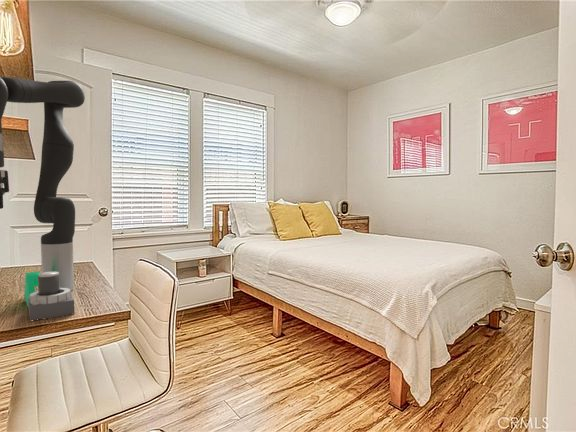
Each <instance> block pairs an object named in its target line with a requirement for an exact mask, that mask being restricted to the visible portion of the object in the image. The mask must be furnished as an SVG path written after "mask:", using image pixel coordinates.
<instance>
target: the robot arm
mask: <svg viewBox="0 0 576 432" xmlns="http://www.w3.org/2000/svg"><path fill="white" fill-rule="evenodd" d="M85 97H86V96H85V92H84V90H83V88H82V86H81V85H80V84H78V83H77V82H75V81H72V80H50V81H47V82H46V81H39V80H32V79H24V78H18V77H8V76H2V77H1V76H0V168H4V167H5V151H4V150H5V149H4V148H5V147H4V145H5V144H4V138H3V134H2V133H3V131H2V130H3V129H2V128H3V127H2V119H3V115H4V112H5V110H6V106H7V103H17V104H19V103H20V104H37V103H43V114H44V115H43V116H44V120H43V135H42V137H43V138H42V143H41V144H42V146H41V156H40V157H41V159H40V162H41V163H40V172H39V179H38V183H37V184H38V185H37V189H36V194H35V197H34V198H35V199H34V204H33V215H34V217H35V219H36V221H38V222H39V223H42V224H53V226H52V230H51V231H49V232H47V233H44V234H42V235H41V236H40V252H41V253H40V256H41V260H40V261H41V273H44V272H59V274H60V288H69V289H70V290H71V292H72V291H73V290H75V285H74V284H75V281H74V279H75V275H74V244H73V243H74V242H73V241H74V240H73V239H74V235H75V230H76V229H75V228H76V207H75V204H74V202H73V201H72V199H71V198H69V197H65V196H64V197H63V196H57V192H58V188H59V186H60V182H61V180H62V179H63V178H64V177H65V175H66V174H67V173H68V171H69V169H70V168H71V166H72V164H73V161H74V160H73V159H74V148H75V145H74V141H73V139H72V137H71V135H70V134H69V132H68V129H66V128H67V127H65V123H64V114H63V113H64V108H65V109H69V108H71V109H72V108H73V109H74V108H79V107H81V106H82V105H83V104H84V103H85V99H86V98H85ZM9 183H10V182H9V172H8V170H6V169H5V170H4V169H0V209H1V210H2V209H3V208H4V195H5V194H6V193H9V192H10V184H9Z"/></svg>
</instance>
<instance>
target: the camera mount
mask: <svg viewBox="0 0 576 432" xmlns="http://www.w3.org/2000/svg"><path fill="white" fill-rule="evenodd" d="M40 273H41V272H40V271H32V272H26V273H25V279H24V280H25V281H24V282H25V283H24V300H25V303H26V306H27V307H28V298H30V294H31V293H33V292H36V287H38V276H39V274H40Z"/></svg>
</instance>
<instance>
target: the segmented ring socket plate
mask: <svg viewBox="0 0 576 432" xmlns="http://www.w3.org/2000/svg"><path fill="white" fill-rule="evenodd" d="M27 308H28V309H27V310H28V311H29V312H28V311H27V312H28V317H29V316H30V317H29V322H30V321H31V320H37V319H43V318H49V319H54V318H58V316H60V317H63V316H62V315H65V316H68V315H67V314H70V315H73V314H72V313H74V314H75V299H74V298H73V296H72V291H71V290H70V289H69V288H60V293H59V294H55V295H47V296H40V295H39V294H38V290H37V291H36V290H35V292H33V293H31V294H30V298H28V306H27ZM53 317H54V318H53ZM43 320H44V319H43Z"/></svg>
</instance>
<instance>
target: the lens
mask: <svg viewBox="0 0 576 432" xmlns="http://www.w3.org/2000/svg"><path fill="white" fill-rule="evenodd" d="M37 288H38V289H37V291H38V294H39V295H40V296H47V295H55V294H59V293H60V274H59V272H44V273H42V272H40V274H39V276H38V286H37Z"/></svg>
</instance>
